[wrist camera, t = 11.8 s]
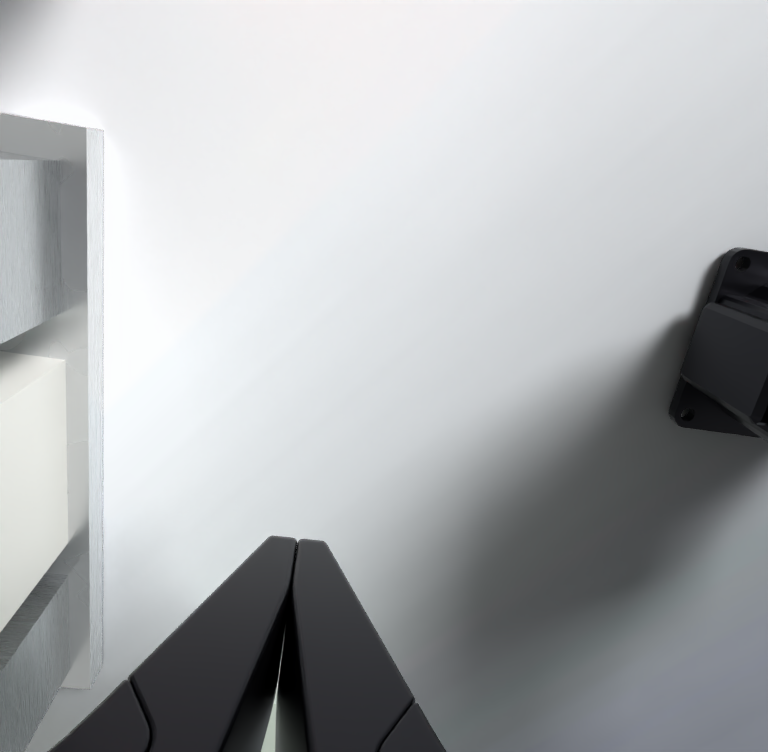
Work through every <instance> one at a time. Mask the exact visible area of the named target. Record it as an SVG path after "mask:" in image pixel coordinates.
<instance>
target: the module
mask: <svg viewBox="0 0 768 752" xmlns="http://www.w3.org/2000/svg"><path fill="white" fill-rule="evenodd" d="M67 544H68V495H67V428H66V362H65V360H62V359H55V358H47V357H40V356H33V355H25V354H18V353H11V352H3V351H0V632H1V631H2V630H3V628H4V627H5V626H6V624H7V623H8V622H9V620H10V619H11V618H12V616H13V615H14V614H15V613H16V611H17V610H18V609H19V607H20V606H21V605H22V603H23V602H24V601H25V599H26V598H27V597H28V595H29V594H30V593H31V591H32V590H33V589H34V587H35V586H36V585H37V583H38V582H39V581H40V579H41V578H42V577H43V575H44V574H45V573H46V571H47V570H48V569H49V567H50V566H51V565H52V564H53V562H54V561H55V560H56V558H57V557H58V556H59V554H60V553H61V552H62V550H63V549H64V548H65V546H66V545H67Z"/></svg>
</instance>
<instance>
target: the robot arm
mask: <svg viewBox="0 0 768 752" xmlns="http://www.w3.org/2000/svg"><path fill="white" fill-rule="evenodd" d="M741 257H742V258H743V264H742V265H741V267H740V268H738V269H736V267H735V266H736V262H737V260H738V259H739V258H741ZM685 409H689V412H688V413H687V415H685V416H683V417H681V414H682V412H683V411H684V410H685ZM669 416H670V418H671V419H672V420H673V421H674V422H675V423H676V424H677V425H679V426H681V427H685V428H693V429H700V430H708V431H715V432H723V433H730V434H737V435H745V436H752V437H760V438H763V439H764V440H766V441H767V442H768V252H764V251H758V250H753V249H747V248H734V249H731V250H729V251H728V252H727V253H726V254H725V255H724V257H723V259H722V261H721V264H720V267H719V270H718V273H717V275H716V278H715V281H714V284H713V287H712V290H711V292H710V295H709V298H708V301H707V304H706V306H705V307H704V308H703V309H702V312H701V315H700V318H699V320H698V323H697V326H696V329H695V332H694V335H693V337H692V340H691V343H690V346H689V349H688V352H687V355H686V357H685V360H684V363H683V366H682V369H681V377H680V380H679V383H678V386H677V389H676V392H675V394H674V397H673V400H672V403H671V406H670V409H669ZM296 548H297V549H296ZM295 555H296V556H295ZM282 649H283V650H282ZM281 656H282V657H281ZM280 663H281V665H280ZM279 670H280V672H279ZM278 677H279V680H278ZM277 683H278V689H277ZM276 689H277V700H276V732H275V752H446V750H445V749H444V747H443V745H442V744H441V742H440V740H439V739H438V737H437V736H436V734H435V732H434V731H433V729H432V727H431V726H430V724H429V722H428V720H427V719H426V717H425V715H424V713H423V711H422V710H421V708H420V706H419V704H418V703H415V698H414V696H413V694H412V693H411V691H410V689H409V687H408V686H407V684H406V682H405V680H404V679H403V677H402V675H401V673H400V672H399V670H398V668H397V666H396V665H395V663H394V661H393V659H392V658H391V656H390V654H389V652H388V651H387V649H386V647H385V645H384V644H383V642H382V640H381V638H380V637H379V635H378V633H377V631H376V630H375V628H374V626H373V624H372V623H371V621H370V619H369V617H368V616H367V614H366V612H365V610H364V608H363V607H362V605H361V603H360V601H359V600H358V598H357V596H356V594H355V593H354V591H353V589H352V587H351V586H350V584H349V582H348V580H347V579H346V577H345V575H344V573H343V572H342V570H341V568H340V566H339V565H338V563H337V561H336V559H335V558H334V556H333V554H332V552H331V551H330V549H329V547H328V545H327V544H326V543H325V542H324V541H319V540H309V539H300V540H299V541H298V543H297V541H296V539H295V538H290V537H281V536H270V537H268V538H267V539H266V540H265V541H264V542H263V543H262V544H261V545H260V546H259V547H258V548H257V549H256V550H255V551H254V552H253V553H252V554H251V555H250V556H249V557H248V558H247V559H246V560H245V561H244V562H243V563H242V564H241V565H240V566H239V567H238V568H237V569H236V570H235V571H234V572H233V573H232V574H231V575H230V576H229V577H228V578H227V579H226V580H225V581H224V582H223V583H222V584H221V585H220V586H219V587H218V588H217V589H216V590H215V591H214V592H213V593H212V594H211V595H210V596H209V597H208V598H207V599H206V600H205V601H204V602H203V603H202V604H201V605H200V606H199V607H198V608H197V609H196V610H195V611H194V612H193V613H192V614H191V615H190V616H189V617H188V618H187V619H186V620H185V621H184V622H183V623H182V624H181V625H180V626H179V627H178V628H177V629H176V630H175V631H174V632H173V633H172V634H171V635H170V636H169V637H168V638H167V639H166V640H165V641H164V642H163V643H162V644H161V645H160V646H159V647H158V648H157V649H156V650H155V651H154V652H153V653H152V654H151V655H150V656H149V657H148V658H147V659H146V660H145V661H144V662H143V663H142V664H141V665H139V666H138V667H137V668H136V669H135V670H134V671H133V672H132V673H131V674H130V675H129V677H128V680H124V681H123V682H122V683H121V684H120V685H119V686H118V687H117V688H116V689H115V690H114V691H113V692H112V693H111V694H110V695H109V696H108V697H107V698H106V699H105V700H104V701H103V702H102V703H101V704H100V705H99V706H98V707H97V708H95V709H94V710H93V711H92V712H91V713H90V714H89V715H88V716H87V717H86V718H85V719H84V720H83V721H82V722H81V723H80V724H78V725H77V726H76V727H75V728H74V729H73V730H72V731H71V732H70V733H69V734H68V735H67V736H65V737H64V738H63V739H62V740H61V741H60V742H58V743H57V744H56V745H55V746H54V747H53V748H51V749H50V750H49V751H48V752H261V750H262V746H263V742H264V738H265V735H266V731H267V727H268V723H269V720H270V716H271V712H272V708H273V703H274V699H275V695H276Z"/></svg>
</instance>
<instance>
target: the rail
mask: <svg viewBox="0 0 768 752" xmlns="http://www.w3.org/2000/svg"><path fill="white" fill-rule="evenodd" d="M103 157H104V130H99V129H94V128H88V127H82V126H76V125H70V124H65V123H59V122H53V121H47V120H41V119H35V118H30V117H24V116H18V115H12V114H6V113H0V351H3V352H11V353H18V354H25V355H33V356H40V357H47V358H55V359H62V360H65V362H66V428H67V495H68V544H67V545H66V546H65V548H64V549H63V550H62V552H61V553H60V554H59V556H58V557H57V558H56V560H55V561H54V562H53V564H52V565H51V566H50V567H49V569H48V570H47V571H46V573H45V574H44V575H43V577H42V578H41V579H40V581H39V582H38V583H37V585H36V586H35V587H34V589H33V590H32V591H31V593H30V594H29V595H28V597H27V598H26V599H25V601H24V602H23V603H22V605H21V606H20V607H19V609H18V610H17V611H16V613H15V614H14V615H13V616H12V618H11V619H10V620H9V622H8V623H7V624H6V626H5V627H4V628H3V630H2V631H1V632H0V752H24V751H25V749H26V747H27V745H28V744H29V742H30V740H31V738H32V736H33V735H34V733H35V731H36V729H37V728H38V726H39V724H40V722H41V720H42V719H43V717H44V715H45V713H46V712H47V710H48V708H49V706H50V704H51V703H52V701H53V699H54V697H55V695H56V694H57V692H58V690H59V688H60V687H62V688H75V689H88V690H90V689H91V687H92V685H93V683H94V681H95V679H96V677H97V675H98V673H99V671H100V669H101V667H102V624H103Z"/></svg>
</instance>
